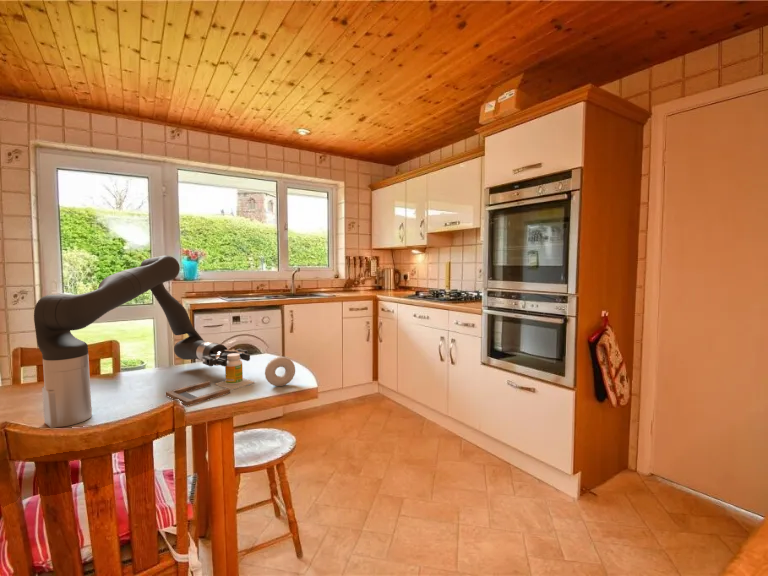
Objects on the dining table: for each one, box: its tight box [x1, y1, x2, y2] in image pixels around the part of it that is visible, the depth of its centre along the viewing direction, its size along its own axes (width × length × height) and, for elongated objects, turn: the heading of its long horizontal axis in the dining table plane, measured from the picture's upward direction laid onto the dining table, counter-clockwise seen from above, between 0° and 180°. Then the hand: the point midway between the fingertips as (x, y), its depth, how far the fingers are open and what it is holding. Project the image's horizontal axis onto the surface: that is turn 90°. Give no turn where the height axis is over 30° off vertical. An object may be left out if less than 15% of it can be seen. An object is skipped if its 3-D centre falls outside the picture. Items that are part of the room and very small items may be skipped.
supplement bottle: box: [224, 353, 244, 385], centre depth 131 cm, size 5×5×10 cm
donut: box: [264, 356, 296, 387], centre depth 129 cm, size 10×3×10 cm, turn 116°
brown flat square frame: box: [165, 380, 231, 407], centre depth 121 cm, size 14×14×1 cm
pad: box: [215, 377, 255, 391], centre depth 131 cm, size 9×9×1 cm
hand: (237, 360), depth 130 cm, fingers open, 8 cm apart
